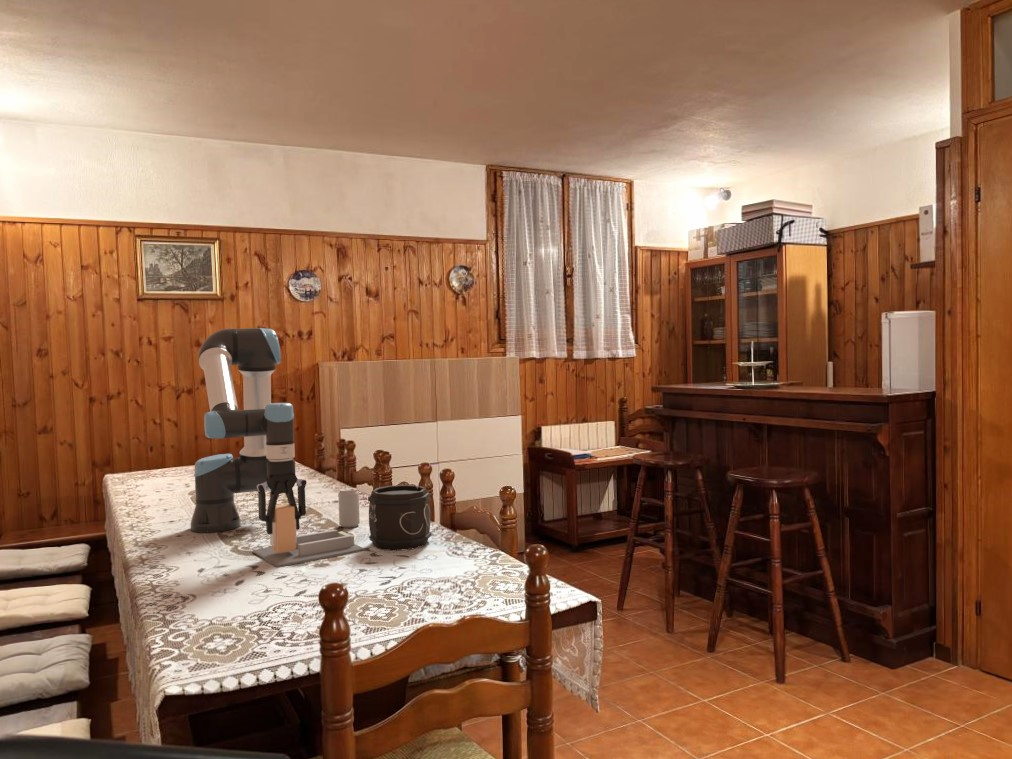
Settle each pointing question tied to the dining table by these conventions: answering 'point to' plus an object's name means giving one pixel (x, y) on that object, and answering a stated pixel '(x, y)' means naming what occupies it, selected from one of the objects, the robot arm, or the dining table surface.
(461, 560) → the dining table surface
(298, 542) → the end holder
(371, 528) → the wooden barrel
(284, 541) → the block
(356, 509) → the beverage can
